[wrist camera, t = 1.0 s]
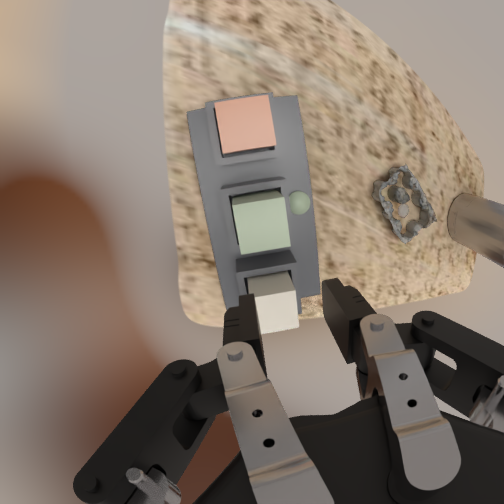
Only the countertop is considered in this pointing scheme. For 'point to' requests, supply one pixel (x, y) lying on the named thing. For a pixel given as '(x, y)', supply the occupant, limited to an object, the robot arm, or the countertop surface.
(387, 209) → the grey ruined fortress
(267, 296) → the cream key
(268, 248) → the sage key
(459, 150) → the countertop surface
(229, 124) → the terracotta key
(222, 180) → the key panel
